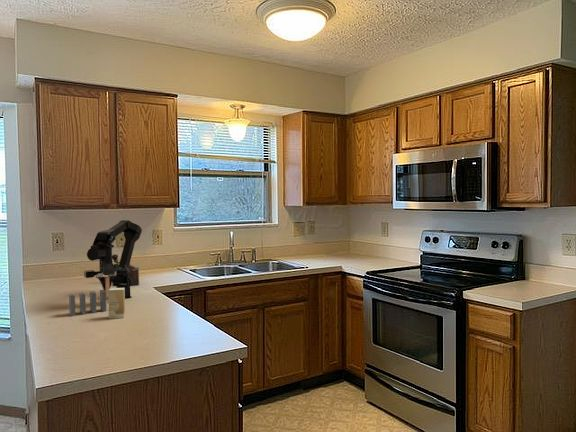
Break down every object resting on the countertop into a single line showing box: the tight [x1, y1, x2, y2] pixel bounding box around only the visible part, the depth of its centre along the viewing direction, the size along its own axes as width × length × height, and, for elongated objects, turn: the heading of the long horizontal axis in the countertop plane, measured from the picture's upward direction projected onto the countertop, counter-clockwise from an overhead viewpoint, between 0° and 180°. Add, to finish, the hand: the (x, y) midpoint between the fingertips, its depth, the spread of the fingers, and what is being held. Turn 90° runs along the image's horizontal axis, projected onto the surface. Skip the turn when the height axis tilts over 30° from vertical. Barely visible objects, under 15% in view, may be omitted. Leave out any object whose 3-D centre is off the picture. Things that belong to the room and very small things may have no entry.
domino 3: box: [89, 290, 97, 314], centre depth 199 cm, size 2×5×9 cm, turn 34°
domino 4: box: [99, 289, 107, 313], centre depth 201 cm, size 2×5×9 cm, turn 34°
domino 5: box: [103, 276, 111, 298], centre depth 213 cm, size 2×5×9 cm, turn 34°
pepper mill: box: [112, 253, 140, 287], centre depth 263 cm, size 16×11×18 cm
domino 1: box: [68, 292, 76, 317], centre depth 194 cm, size 2×5×9 cm, turn 34°
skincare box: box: [108, 287, 126, 319], centre depth 189 cm, size 6×4×12 cm
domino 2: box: [78, 291, 87, 315], centre depth 197 cm, size 2×5×9 cm, turn 34°
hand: (106, 290), depth 213 cm, fingers closed on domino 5, 2 cm apart
